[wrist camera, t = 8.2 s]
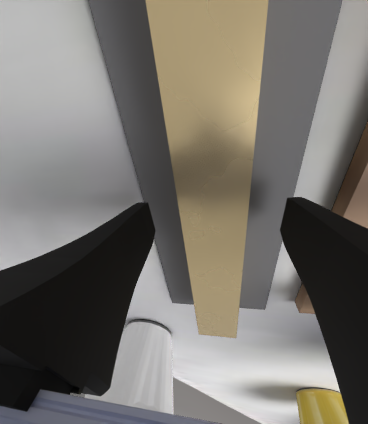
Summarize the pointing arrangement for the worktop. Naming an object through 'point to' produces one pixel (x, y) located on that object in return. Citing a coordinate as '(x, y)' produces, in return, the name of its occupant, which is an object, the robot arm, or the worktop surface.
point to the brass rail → (211, 138)
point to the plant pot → (321, 407)
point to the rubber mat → (264, 140)
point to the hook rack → (348, 203)
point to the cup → (142, 369)
